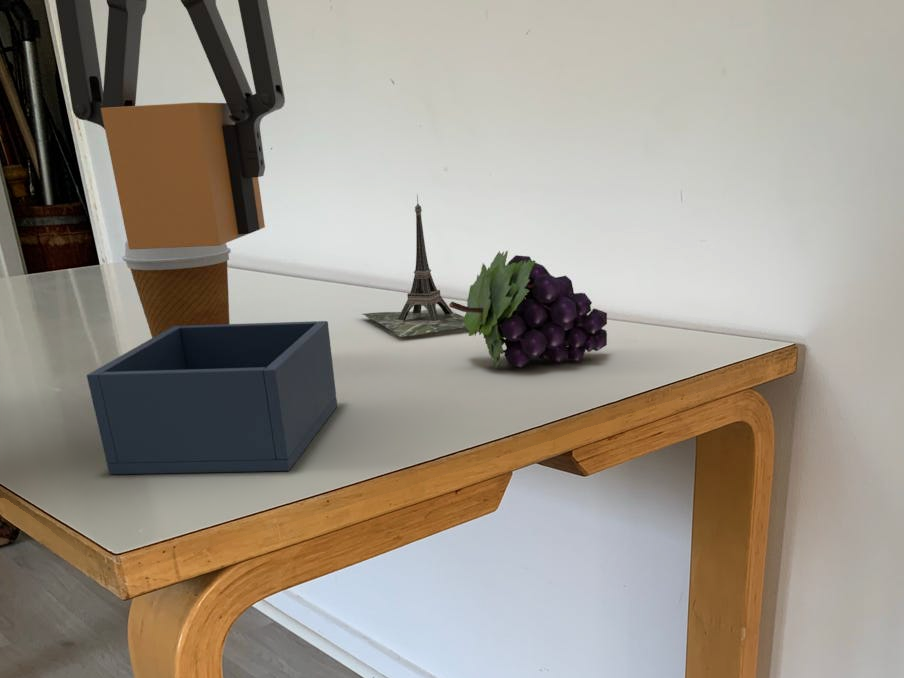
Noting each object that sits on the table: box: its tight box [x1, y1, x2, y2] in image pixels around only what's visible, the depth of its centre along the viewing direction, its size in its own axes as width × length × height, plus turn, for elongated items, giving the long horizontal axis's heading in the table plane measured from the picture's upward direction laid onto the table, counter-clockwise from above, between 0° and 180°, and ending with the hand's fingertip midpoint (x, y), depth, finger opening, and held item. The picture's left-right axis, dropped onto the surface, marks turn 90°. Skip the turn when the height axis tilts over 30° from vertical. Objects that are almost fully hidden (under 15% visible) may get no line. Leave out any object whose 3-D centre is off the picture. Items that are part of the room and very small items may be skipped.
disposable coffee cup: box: [122, 241, 232, 339], centre depth 92 cm, size 10×10×12 cm
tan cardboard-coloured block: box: [101, 102, 266, 250], centre depth 66 cm, size 6×11×8 cm, turn 176°
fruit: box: [448, 250, 608, 369], centre depth 90 cm, size 10×11×15 cm
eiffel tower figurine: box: [362, 194, 466, 338], centre depth 108 cm, size 15×10×13 cm
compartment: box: [86, 320, 338, 475], centre depth 73 cm, size 13×17×7 cm
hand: (201, 233), depth 68 cm, fingers closed on tan cardboard-coloured block, 6 cm apart
